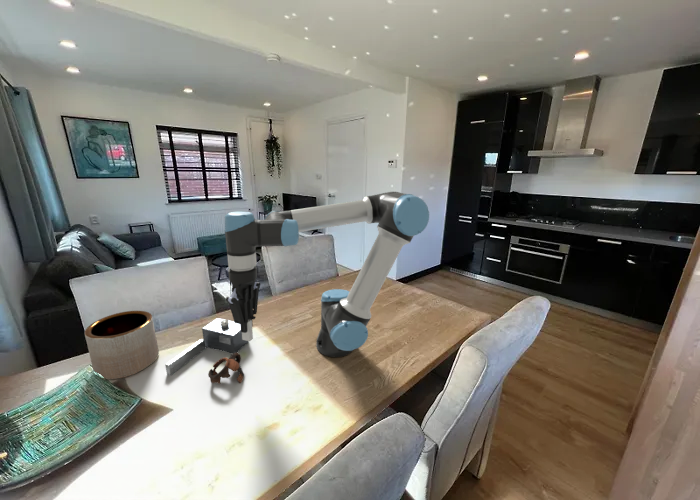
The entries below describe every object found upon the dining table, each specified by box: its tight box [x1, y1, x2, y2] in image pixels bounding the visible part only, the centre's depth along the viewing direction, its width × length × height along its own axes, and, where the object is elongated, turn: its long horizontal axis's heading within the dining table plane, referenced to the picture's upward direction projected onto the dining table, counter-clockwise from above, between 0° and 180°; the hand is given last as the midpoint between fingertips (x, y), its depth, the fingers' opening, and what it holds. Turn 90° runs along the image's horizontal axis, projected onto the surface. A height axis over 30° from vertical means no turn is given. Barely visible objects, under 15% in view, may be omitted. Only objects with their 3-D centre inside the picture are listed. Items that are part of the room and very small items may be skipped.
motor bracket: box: [165, 317, 250, 376], centre depth 100 cm, size 14×24×10 cm, turn 163°
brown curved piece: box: [207, 352, 245, 385], centre depth 92 cm, size 12×10×8 cm
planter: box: [84, 310, 160, 380], centre depth 95 cm, size 18×18×16 cm
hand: (247, 339), depth 86 cm, fingers closed
